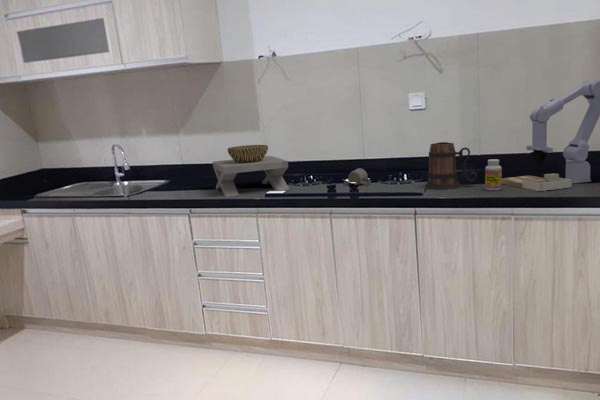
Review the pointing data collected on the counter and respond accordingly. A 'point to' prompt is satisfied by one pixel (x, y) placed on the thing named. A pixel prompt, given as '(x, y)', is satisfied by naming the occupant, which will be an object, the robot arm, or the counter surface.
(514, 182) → the oak board
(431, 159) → the tankard
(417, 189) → the counter surface
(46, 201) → the counter surface
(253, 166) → the grey wooden stool
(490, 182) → the supplement bottle
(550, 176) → the tile sage
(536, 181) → the tile terracotta
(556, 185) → the box
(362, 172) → the ceramic mug
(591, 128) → the robot arm
